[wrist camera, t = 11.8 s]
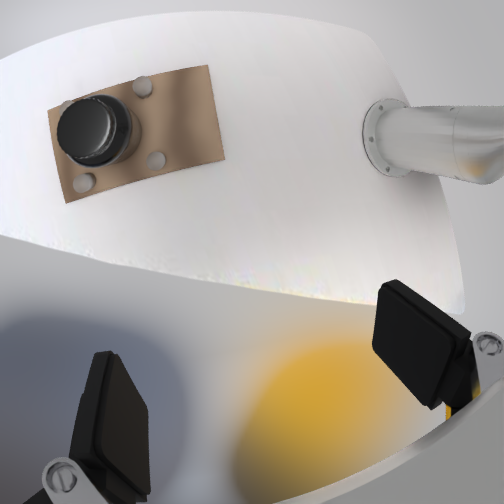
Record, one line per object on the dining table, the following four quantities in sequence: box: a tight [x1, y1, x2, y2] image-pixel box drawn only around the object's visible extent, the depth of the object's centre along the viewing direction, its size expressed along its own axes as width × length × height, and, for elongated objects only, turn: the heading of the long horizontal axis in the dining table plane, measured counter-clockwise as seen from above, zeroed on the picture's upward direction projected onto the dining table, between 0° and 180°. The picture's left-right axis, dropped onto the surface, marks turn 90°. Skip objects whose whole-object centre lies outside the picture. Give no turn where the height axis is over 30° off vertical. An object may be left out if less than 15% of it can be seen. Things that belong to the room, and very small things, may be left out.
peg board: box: [48, 65, 225, 204], centre depth 28 cm, size 20×12×4 cm, turn 100°
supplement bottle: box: [56, 94, 142, 168], centre depth 22 cm, size 7×7×12 cm
